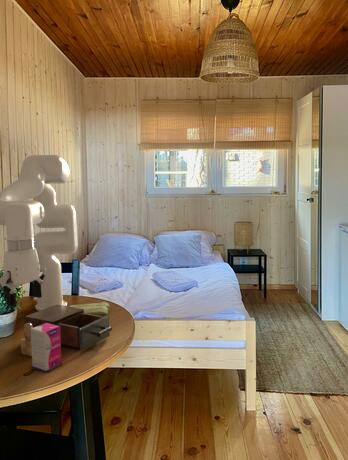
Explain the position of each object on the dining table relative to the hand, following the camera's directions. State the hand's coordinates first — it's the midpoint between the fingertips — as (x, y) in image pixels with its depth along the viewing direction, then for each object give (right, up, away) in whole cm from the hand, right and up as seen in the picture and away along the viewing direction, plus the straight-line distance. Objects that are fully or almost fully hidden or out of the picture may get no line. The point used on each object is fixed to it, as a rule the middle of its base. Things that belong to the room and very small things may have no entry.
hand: (25, 301), depth 126 cm
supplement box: (+9, -17, -8) cm, 21 cm away
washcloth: (+11, -12, +37) cm, 40 cm away
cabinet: (+5, -14, +15) cm, 21 cm away
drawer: (+17, -14, +8) cm, 23 cm away
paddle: (+1, -16, +1) cm, 16 cm away
